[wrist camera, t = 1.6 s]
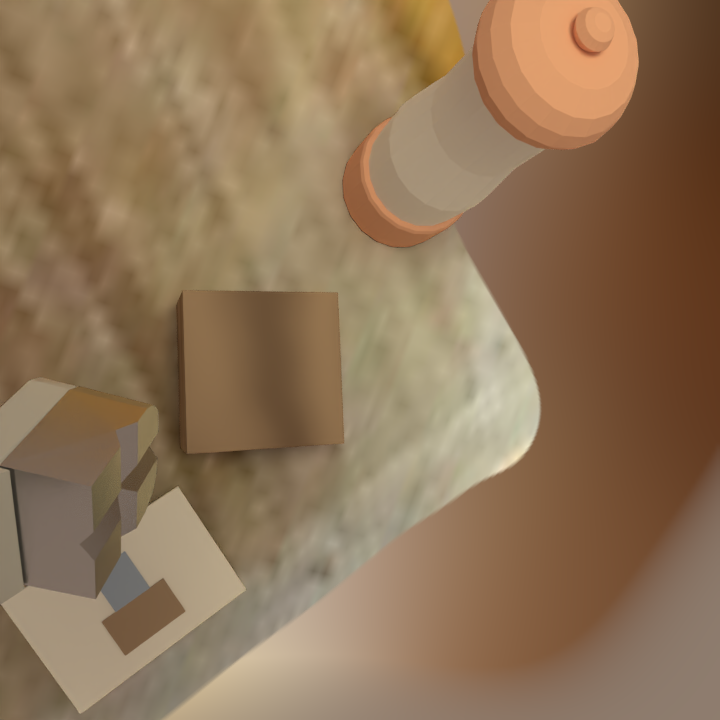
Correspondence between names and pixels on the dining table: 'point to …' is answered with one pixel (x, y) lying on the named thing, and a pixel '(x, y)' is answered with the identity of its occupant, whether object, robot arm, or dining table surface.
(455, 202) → the pepper shaker
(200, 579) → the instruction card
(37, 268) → the dining table surface
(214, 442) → the walnut block
